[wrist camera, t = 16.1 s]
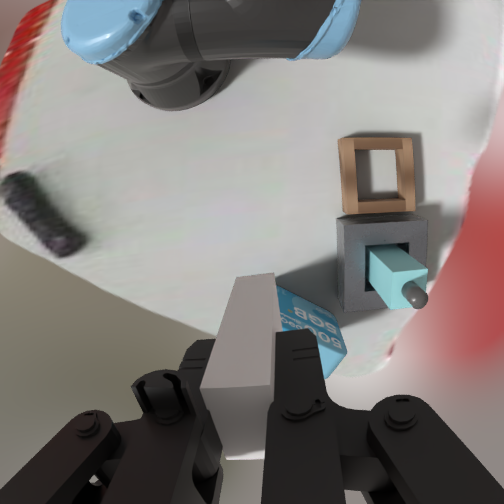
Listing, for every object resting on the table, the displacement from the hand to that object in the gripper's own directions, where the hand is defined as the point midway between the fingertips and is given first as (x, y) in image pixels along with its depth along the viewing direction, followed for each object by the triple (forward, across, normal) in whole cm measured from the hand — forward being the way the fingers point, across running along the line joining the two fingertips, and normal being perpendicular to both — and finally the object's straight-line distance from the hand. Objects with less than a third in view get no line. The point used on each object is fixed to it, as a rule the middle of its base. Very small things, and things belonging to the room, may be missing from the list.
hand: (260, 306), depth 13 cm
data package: (+31, +1, -16) cm, 35 cm away
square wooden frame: (+32, +15, +2) cm, 35 cm away
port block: (+31, +14, -10) cm, 36 cm away
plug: (+30, +14, -10) cm, 35 cm away
